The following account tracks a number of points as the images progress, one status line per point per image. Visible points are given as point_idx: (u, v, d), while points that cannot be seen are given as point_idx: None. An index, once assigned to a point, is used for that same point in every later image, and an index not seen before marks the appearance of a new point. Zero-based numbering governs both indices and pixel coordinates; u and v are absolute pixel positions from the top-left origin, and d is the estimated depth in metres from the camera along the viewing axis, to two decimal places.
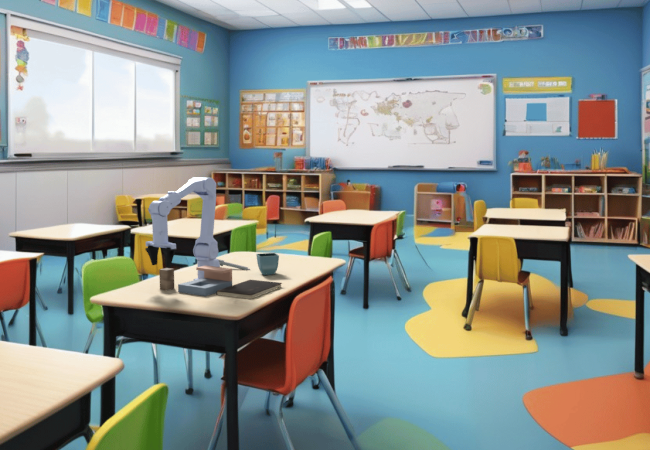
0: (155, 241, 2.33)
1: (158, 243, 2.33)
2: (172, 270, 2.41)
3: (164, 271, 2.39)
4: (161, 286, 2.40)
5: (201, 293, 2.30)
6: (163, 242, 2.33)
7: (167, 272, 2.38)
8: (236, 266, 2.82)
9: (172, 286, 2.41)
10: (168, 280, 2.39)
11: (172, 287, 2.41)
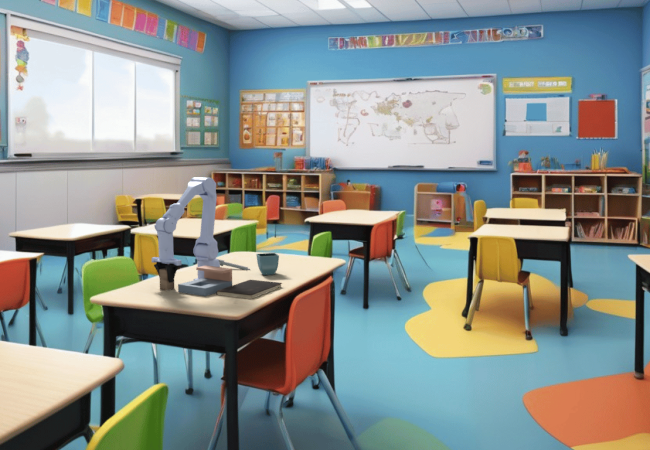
0: (161, 257, 2.38)
1: (164, 259, 2.37)
2: None
3: (164, 271, 2.39)
4: (161, 286, 2.40)
5: (201, 293, 2.30)
6: (169, 258, 2.38)
7: None
8: (236, 266, 2.82)
9: (172, 286, 2.41)
10: None
11: (172, 287, 2.41)
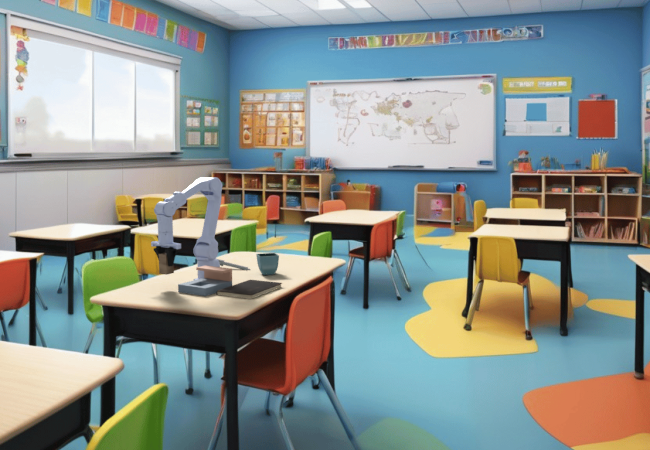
0: (160, 241, 2.37)
1: (163, 243, 2.36)
2: None
3: (163, 255, 2.38)
4: (160, 270, 2.39)
5: (201, 293, 2.30)
6: (168, 242, 2.37)
7: (166, 256, 2.38)
8: (236, 266, 2.82)
9: (171, 271, 2.40)
10: (167, 264, 2.38)
11: (171, 272, 2.40)
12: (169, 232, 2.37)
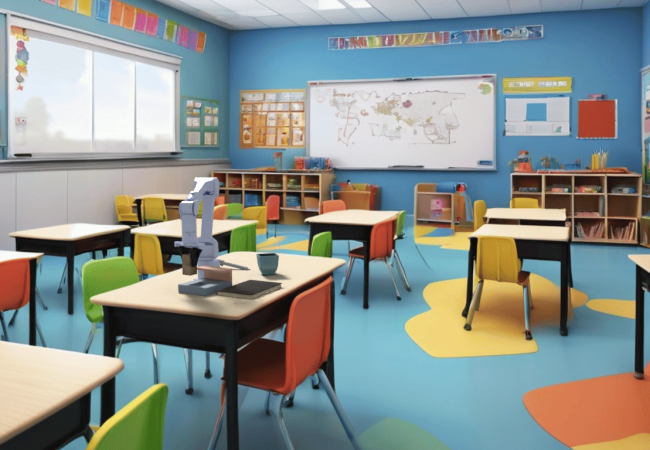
0: (184, 241, 2.33)
1: (187, 243, 2.33)
2: None
3: (187, 256, 2.34)
4: (184, 271, 2.36)
5: (201, 293, 2.30)
6: (192, 242, 2.33)
7: (190, 257, 2.34)
8: (236, 266, 2.82)
9: (195, 272, 2.37)
10: (191, 265, 2.34)
11: (195, 273, 2.37)
12: (193, 232, 2.33)
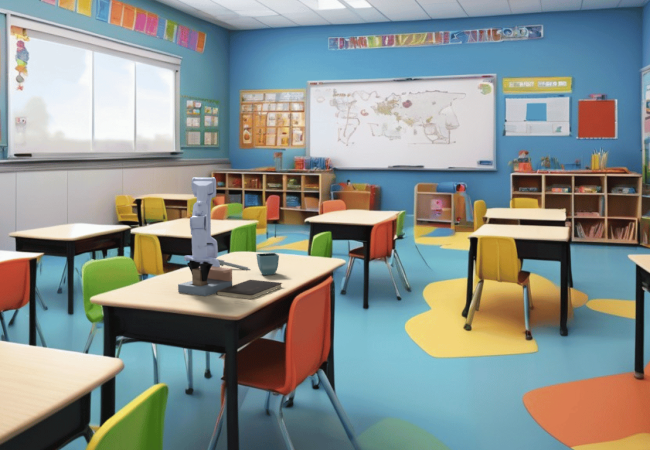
0: (194, 256, 2.32)
1: (197, 258, 2.32)
2: None
3: (197, 271, 2.33)
4: None
5: (201, 293, 2.30)
6: (202, 257, 2.33)
7: (200, 272, 2.33)
8: (236, 266, 2.82)
9: None
10: (201, 280, 2.34)
11: None
12: (203, 246, 2.33)
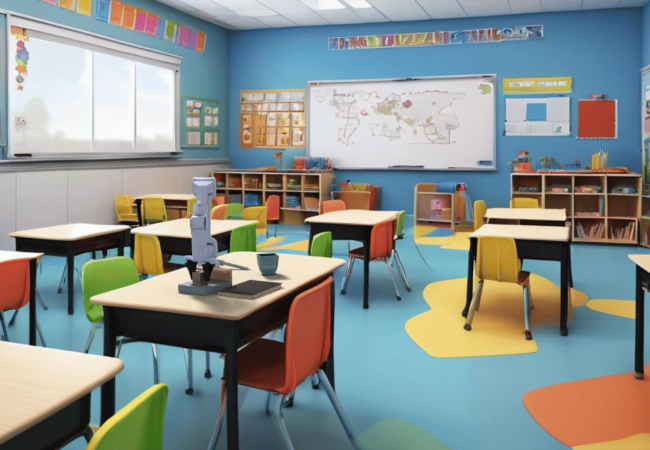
0: (194, 256, 2.32)
1: (197, 258, 2.32)
2: None
3: (197, 274, 2.33)
4: None
5: (201, 293, 2.30)
6: (202, 257, 2.33)
7: (200, 275, 2.33)
8: (236, 266, 2.82)
9: None
10: (201, 283, 2.34)
11: None
12: (203, 247, 2.33)
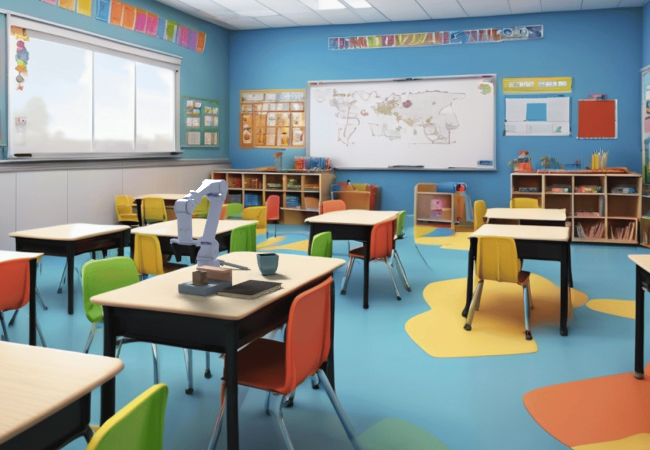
0: (180, 238, 2.39)
1: (183, 240, 2.39)
2: (205, 273, 2.35)
3: (197, 274, 2.33)
4: None
5: (201, 293, 2.30)
6: (188, 239, 2.39)
7: (200, 275, 2.33)
8: (236, 266, 2.82)
9: None
10: (201, 283, 2.34)
11: None
12: (189, 229, 2.39)
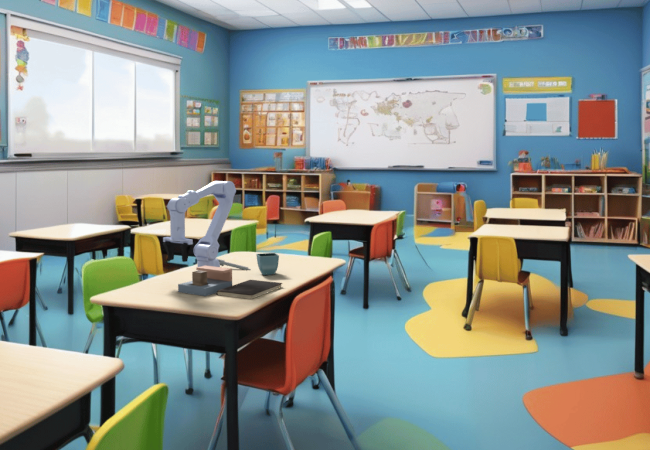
0: (173, 236, 2.42)
1: (175, 238, 2.42)
2: (205, 273, 2.35)
3: (197, 274, 2.33)
4: None
5: (201, 293, 2.30)
6: (180, 238, 2.43)
7: (200, 275, 2.33)
8: (236, 266, 2.82)
9: None
10: (201, 283, 2.34)
11: None
12: (181, 228, 2.43)
